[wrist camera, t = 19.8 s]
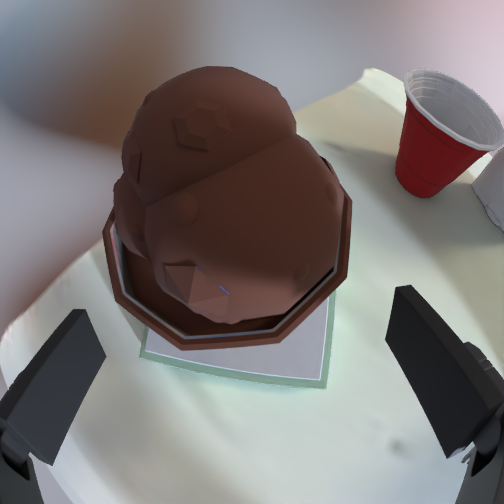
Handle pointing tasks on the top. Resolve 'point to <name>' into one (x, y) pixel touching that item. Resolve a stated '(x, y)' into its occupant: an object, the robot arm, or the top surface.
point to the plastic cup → (442, 131)
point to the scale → (260, 355)
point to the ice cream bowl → (224, 215)
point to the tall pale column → (492, 188)
